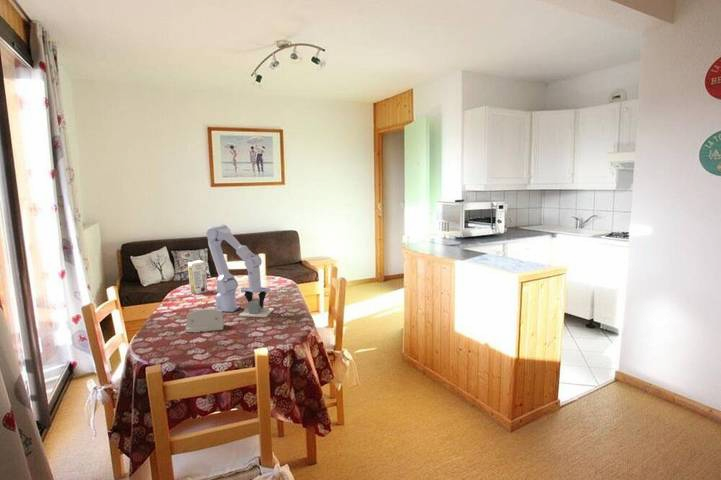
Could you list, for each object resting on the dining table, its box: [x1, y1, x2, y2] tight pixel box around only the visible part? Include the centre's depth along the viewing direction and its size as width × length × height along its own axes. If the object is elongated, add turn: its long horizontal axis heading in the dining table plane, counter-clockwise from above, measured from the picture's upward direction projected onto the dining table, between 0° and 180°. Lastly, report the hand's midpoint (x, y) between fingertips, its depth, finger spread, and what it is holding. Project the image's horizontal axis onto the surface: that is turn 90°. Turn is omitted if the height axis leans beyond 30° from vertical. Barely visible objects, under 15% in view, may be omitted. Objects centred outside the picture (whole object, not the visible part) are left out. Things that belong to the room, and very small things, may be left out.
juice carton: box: [187, 259, 208, 295], centre depth 244 cm, size 8×9×19 cm
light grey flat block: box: [185, 308, 226, 333], centre depth 186 cm, size 17×5×10 cm, turn 102°
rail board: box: [238, 307, 275, 318], centre depth 206 cm, size 14×11×2 cm
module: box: [247, 297, 265, 314], centre depth 205 cm, size 5×7×6 cm
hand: (256, 306), depth 205 cm, fingers closed on module, 5 cm apart
